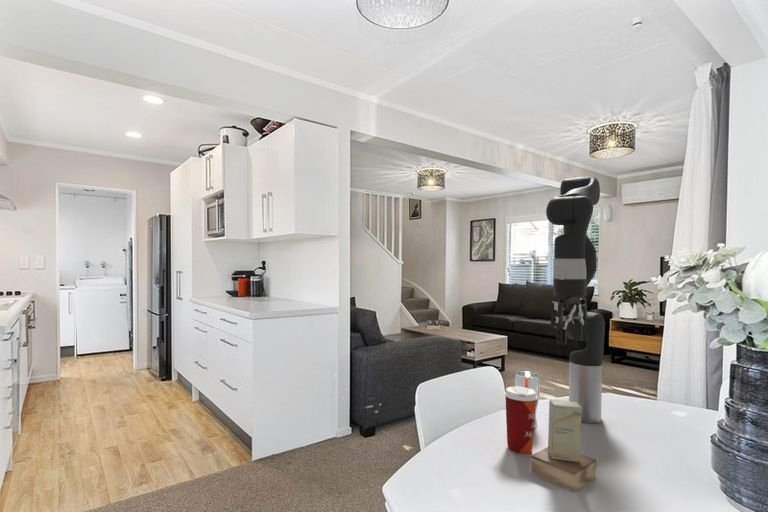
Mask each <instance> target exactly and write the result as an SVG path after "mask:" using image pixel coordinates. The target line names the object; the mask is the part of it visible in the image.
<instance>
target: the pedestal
mask: <svg viewBox="0 0 768 512" xmlns="http://www.w3.org/2000/svg"><path fill="white" fill-rule="evenodd" d="M596 461H597V460H596V458H593V457H590V456H587V455H585V454H582V453H580V462H573V461H565V460H558V459H552V458H551V456H550V454H549V452H548V446H547V447H545V448H544V449H541V450H539V451H537V452H535V453H533V454H531V456H530V474H532V475H535V476H536V477H539V478H541V479H544V480H545V481H548V482H550V483H553V484H555V485H558V486H559V487H562V488H564V489H567V490H569V491H571V492H574V493H575V492H576V491H577V490H580V489H581V488H582V487H584V486H585V485H586V484H588V483H589V482H591V481H592V480H594V479H595V478H596V471H597V470H596V468H597V467H596V466H597V465H596V463H597V462H596Z"/></svg>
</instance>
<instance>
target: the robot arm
mask: <svg viewBox="0 0 768 512" xmlns="http://www.w3.org/2000/svg"><path fill="white" fill-rule="evenodd" d="M600 187H601V186H600V181H599V180H598V178H597V177H594V176H581V177H579V176H578V177H571V178H565V179H562V181H561V184H560V189H559V190H560V191H559V192H560V195H557V196H554V197H552V198H551V199H550V200H549V202H548V204H547V205H546V209H545V214H546V215H545V216H546V218H547V220H548V222H550V223H551V224H552V225H553V226H563V234H560V235H557V236H555V238H554V243H553V245H554V246H553V247H554V249H553V250H554V253H553V255H554V257H553V258H554V261H553V271H552V272H553V280H552V281H553V282H552V283H553V284H552V285H553V286H552V287H553V288H552V289H553V295H554V296H555V297H558V301H552V302H551V305H550V307H551V308H550V326H551V328H552V327H553V328H555V330H556V332H555V334H556V335H555V336H556V337H555V339H556V341H555V342H556V344H557V345H562V346H565V345H567V343H568V342H567V341H568V340H567V338H569V339H571V340H577V341H582V342H586V346H585V348H583V349H580V350H574V351H571V352H570V353H569V365H568V366H569V367H568V368H569V371H568V372H569V382H568V401H573V402H578V404H579V405H580V406H581V407H582V412H581V423H586V424H599V423H601V422H602V396H603V393H602V392H603V391H602V387H603V386H602V385H603V384H602V383H603V380H602V378H603V358H604V347H605V346H604V345H605V336H606V335H605V334H606V332H605V331H606V329H605V328H606V322H605V319H604V317H603V315H602V314H601V313H599V312H592V311H588V306H587V305H588V304H587V301H588V300H587V298H584V297H586V296H587V287H588V286H589V284H590V283H591V282H592V279H593V278H594V277H595V275H596V271H597V268H598V267H597V265H598V264H597V248H596V246H595V245H594V243H593V242H592V240H591V239H590V237H589V236H588V235H587V233H588V232H587V231H588V230H589V229H588V228H589V225H590V223H591V220H592V216H593V212H594V206H596V205H597V204H598V203H599V201H600V198H601V188H600Z"/></svg>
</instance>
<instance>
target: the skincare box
mask: <svg viewBox="0 0 768 512" xmlns="http://www.w3.org/2000/svg"><path fill="white" fill-rule="evenodd" d="M548 403H549V405H548V406H549V409H548V436H547V438H548V441H547V443H548V444H547V447H548V452H549V454H550V456H551V458H552V459H558V460H565V461H573V462H580V454H581V441H582V439H581V437H582V422H581V412H582V407H581V406H580V405H579V404H578V402H573V401H569V400H562V399H552V398H551V399H549V402H548Z"/></svg>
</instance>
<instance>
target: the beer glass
mask: <svg viewBox="0 0 768 512" xmlns="http://www.w3.org/2000/svg"><path fill="white" fill-rule="evenodd" d="M514 381H515V382H514V387H525V388H529V389H532V390H534V391H535V392H536V396H537V397H538V398H537V399H536V407H535V420H534V429H536V428H538V420H537V409H538V405H539V399H540V392H541V390H540V388H541V387H540V384H541V383H540V375H539V374H538V373H536V372H534V371H533V372H532V371H522V370H521V371H517V372H515V380H514Z"/></svg>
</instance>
